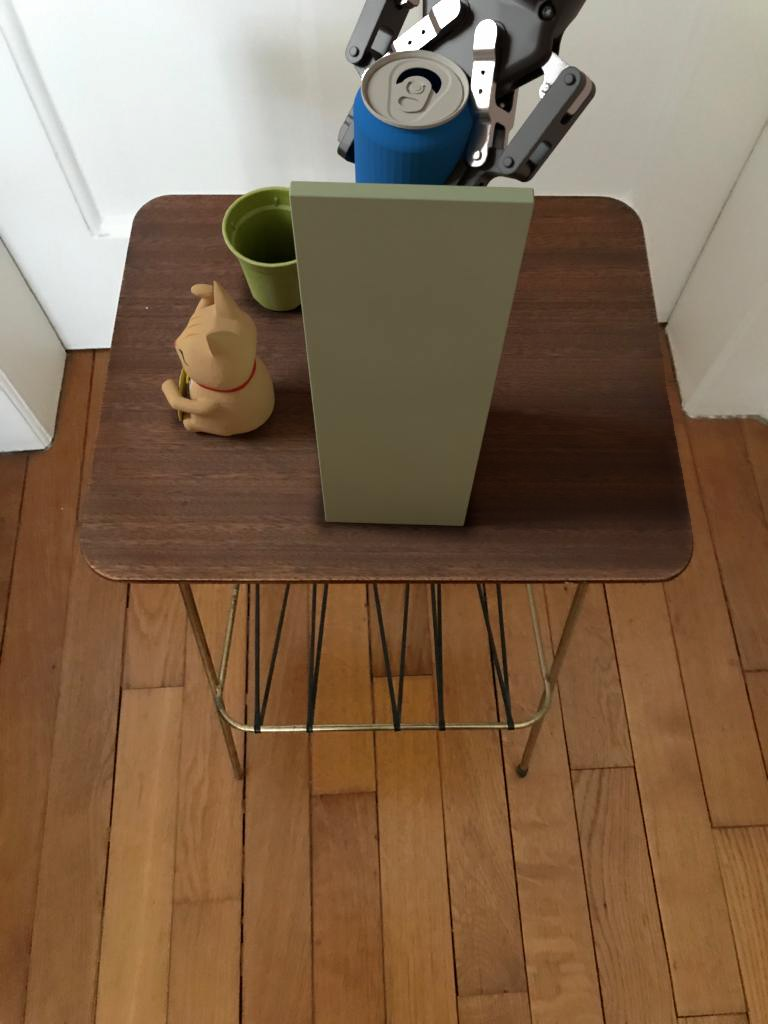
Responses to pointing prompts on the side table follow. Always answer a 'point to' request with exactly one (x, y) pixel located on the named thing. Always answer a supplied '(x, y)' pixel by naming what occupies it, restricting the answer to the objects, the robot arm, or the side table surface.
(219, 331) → the figurine
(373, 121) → the beverage can
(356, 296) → the shelf
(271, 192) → the plant pot
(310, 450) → the side table surface
